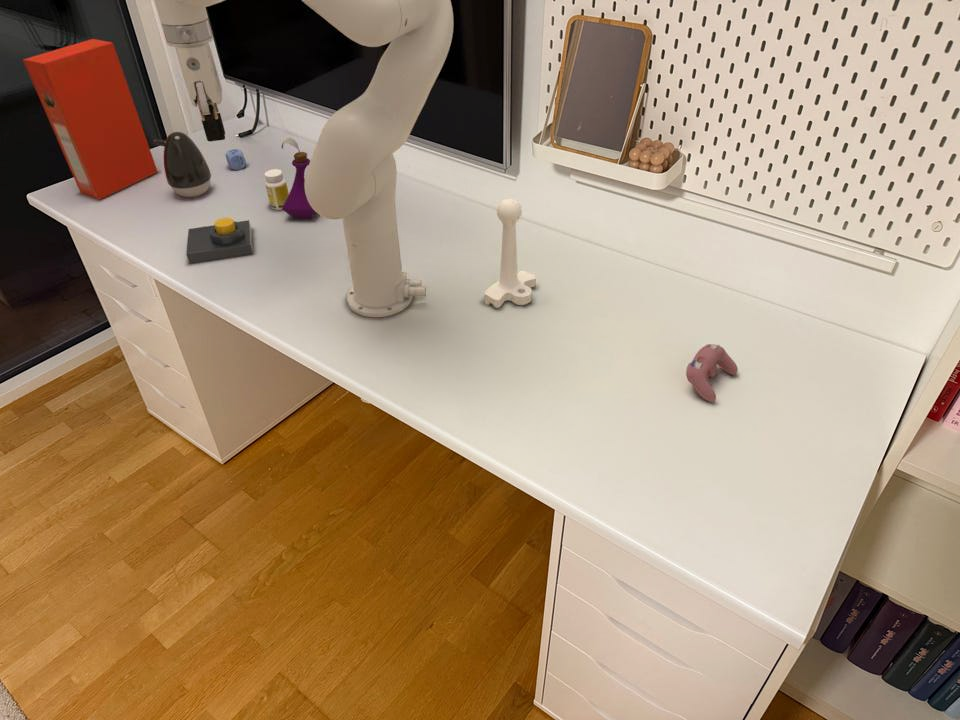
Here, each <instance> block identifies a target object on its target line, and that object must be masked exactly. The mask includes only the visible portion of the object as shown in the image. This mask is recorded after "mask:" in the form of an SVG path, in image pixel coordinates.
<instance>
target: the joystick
mask: <svg viewBox="0 0 960 720" xmlns="http://www.w3.org/2000/svg"><path fill="white" fill-rule="evenodd" d="M522 212H523V210H522V205H521V204H520V203H519V201H518V200H516V199H514V198H505V199H503V200H501V201H500V202H499V203H498V206H497V208H496V215H497V218H498V219H499V221H500V222H501V223H502V235H501V236H502V237H501V252H500V253H501V254H500V270H499V271H500V273H499V280H497V281H495V282H494V283H493V284H492V285H490V286H489V287H488V288H487V289H486V290H485V292H484V304H485V305H487V306H490V305H493V307H494V308H497V309H498V308H501V306H502V305H503V304H504V303H505V302H506V301H507V302H508V301H511V302H512V303H513V304H515V305H516V306H517V305H518V306H525V305H527V304H529V303H530V302H531V301H532V298H533V295H532V294H533V289H532V288H534V287H536V285H537V276H536V275H534V274H532V273H530V272H528V271H526V270H520V271H518V254H517V253H518V252H517V232H516V231H517V230H516V227H517V225H516V224H517V222H518V221H519V220H520V219H521V217H522Z"/></svg>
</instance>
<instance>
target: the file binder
mask: <svg viewBox="0 0 960 720" xmlns="http://www.w3.org/2000/svg"><path fill="white" fill-rule="evenodd" d="M22 61H23V64H24V66H25V68H26V70H27V73H28V75H29V77H30V80H31V82H32V84H33V87H34V89H35V91H36V93H37V95H38V98H39V100H40V102H41V105H42V107H43V109H44V112H45V114H46V116H47V120H48V121H49V124H50V126H51V128H52V130H53V132H54V135H55V137H56V140H57V142H58V144H59V147H60V149H61V152H62V154H63V156H64V158H65V161H66V164H67V165H68V167H69V170H70V172H71V174H72V177H73V179H74V181H75V183H76V186H77V189H78V191H79V192H80V194H81V195H84V196H87V197H90V198H93V199H96V200H98V201H100V200H102V199H105V198H106V197H108V196H110V195H112V194H115V193H117V192H119V191H121V190H123V189H125V188H127V187H129V186H132V185H134V184H136V183H138V182H140V181H142V180H144V179H146V178H148V177H150V176H151V177H152V176H153V175H156V174H157V173H158V172H159V171H158V168H157V165H156V163H155V160H154V157H153V154H152V152H151V149H150V146H149V142H148V140H147V136H146V134H145V132H144V129H143V125H142V122H141V119H140V117H139V114H138V111H137V108H136V105H135V103H134V99H133V97H132V93H131V91H130V88H129V85H128V82H127V78H126V77H125V74H124V71H123V68H122V65H121V62H120V60H119V56H118V53H117V51H116V48H115V45H114V43H113V42H112V41H105V40H101V39H95V38H91V39H88V40H84V41H80V42H77V43H75V44H70V45H67V46H64V47H60V48H58V49H54V50H51V51H47V52H44V53H40V54H37V55H34V56H30V57H27V58H24V59H22Z"/></svg>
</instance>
